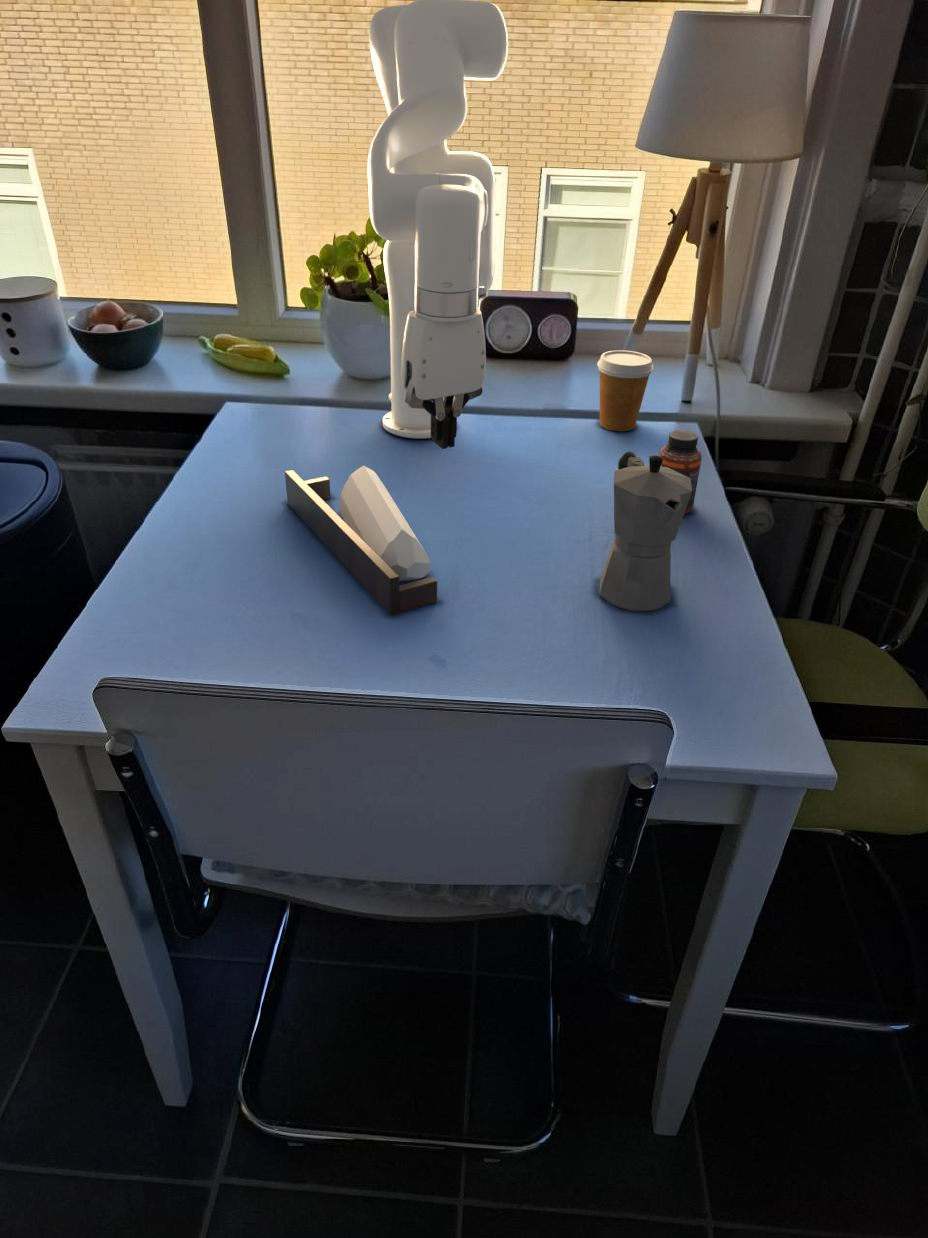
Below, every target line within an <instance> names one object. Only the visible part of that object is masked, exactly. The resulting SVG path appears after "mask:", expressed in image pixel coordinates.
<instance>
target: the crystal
mask: <svg viewBox="0 0 928 1238" xmlns="http://www.w3.org/2000/svg"><path fill="white" fill-rule="evenodd" d="M338 507H339V509H338V511H339V514H340V516H341V517H342V520H343V521H344V522H345V523H346V524H347V525H348V526H349V527H350V528H351V529H352V530H353V531H354V532H355V533H356V534H357V535H358V536H359V537H360V538H361V539H362V540H363V541H364V542H365V543H366V544H367V545H368V546H369V547H370V548H371V549H372V550H373V551H374V552H375V553H376V554H377V555H378V556H379V557H380V558H381V559H382V560H383V561H384V562H385V563H386V564H387V565H388V566H389V567H390V568H391V569H392V570H393V571H394V572H395V573H396V574H397V575H398V576H399V583H401V582H408V581H414V580H415V581H416V580H419V579H422V578H424V577H426V576H427V575H428V574H429V573H431V572H432V567H431V560H430V557H429V555H428V553H427V552H426V551H425V549H424V547H423V546H422V544H421V542H420V541H419V539H418V537H417V536H416V534H415V533H414V531H413V529H412V527H411V526H410V525H409V523H408V521H407V520H406V519H405V516H404V515H403V513H402V512H401V510H400V508H399V507H398V505H397V504H396V502H395V500H394V499H393V497H392V496H391V494H390V492H389V490H388V489H387V487H386V486H385V485H384V483H383V482H382V480H381V479H380V477H379V476H378V475H377V473H376V471H374V470H373V469H371V468H369V467H368V466H366V465H362V466H360V467H359V468H357V469H356V470H355V471H352V473H351V474H349V476H348V478H347V480H346V482H345V483H344V486H343V487H342V489H341V491H340V494H339V506H338Z"/></svg>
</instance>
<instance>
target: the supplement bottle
mask: <svg viewBox="0 0 928 1238" xmlns="http://www.w3.org/2000/svg"><path fill="white" fill-rule="evenodd" d="M698 441H699V435H698V434H697V433H696V432H693V431H691V430H686V429H677V430H676V429H674V430H672V431H670V432H669V434H668V440H667V444H665V445H663V446H662V447H661V448H660V451H659V454H658V456H660V457H663V462H662V464H661V467H668V468H670V469H672V470H674V471H676V472H678V473H681V474H683V475H685V476H687V477H689V478H690V479H691V487H692V493H691V496H690V499H689V502H688V504H687V507H686V510H685V513H684V515H686V514H688V513H690V512H691V511H692V510H693V508H694V503H695V498H696V493H697V487H698V483H699V482H698V481H699V476H700V470H701V464H702V459H703V457H702V456H703V455H702V452H701V450H700V449H699V448H698Z"/></svg>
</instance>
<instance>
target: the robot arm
mask: <svg viewBox="0 0 928 1238" xmlns="http://www.w3.org/2000/svg"><path fill="white" fill-rule="evenodd" d="M369 24H370V25H369V31H368V33H369V35H368V36H369V49H370V54H371V61H372V67H373V70H374V74H375V77H376V81H377V83H378V86H379V89H380V93H381V95H382V98H383V101H384V104H385V107H386V112H387V116H386V118H384V120H383V121H382V123H381V124H380V125H379V127H378V129H377V131H376V133H375V135H374V137H373V138H372V141H371V144H370V147H369V151H368V158H367V187H368V207H369V215H370V216H369V217H370V222H371V226H372V227H373V230H374V231H375V233H376V234H377V236H378V237H379V238H381V239H383V240H385V241H386V242H385V243H384V246H383V253H382V254H383V256H382V258H383V259H382V260H383V268H384V269H383V270H384V275H385V282H386V288H387V294H388V296H387V297H388V308H389V337H390V339H389V340H390V341H389V346H390V393H389V394H388V396H387V397H388V398H387V399H388V400H389V401H390V402H391V405H390V407H391V409H390V410H391V411H389V412H387V413H386V414H385V415H384V416H383V417H382V427H383V428H384V430H385V431H386V432H388V433H390V434H391V435H393V436H394V435H395V436H397V437H401V438H406V439H417V440H418V439H431V440H432V442H433V443H434V444H435V445H436V446H438V447H439V448H441V449H442V450H445V449H448V448H454V447H455V445H456V444H455V443H456V437H457V430H458V429H457V427H458V418H460V417H461V415H462V411H463V409H464V408H465V406H466V405H467V404H468V402H469V401H471V400H474V399H476V398H478V397H480V396H482V394H483V386H484V384H485V380H486V372H487V371H486V368H487V355H486V354H487V351H486V350H487V349H486V336H485V335H486V333H485V326H484V321H483V315H482V311H481V310H480V309H478V307H479V306H480V305H479V301H480V300H481V299H484V298H486V297H487V292H489V290H490V289H491V287H492V285H493V281H494V277H495V266H496V264H495V263H496V179H495V172H494V167H493V164H492V163H491V161H490V160H489V158H488V157H487V156H486V155H484V154H482V153H479V152H475V151H457V150H456V151H452V150H451V151H450V150H449V149H448V147H447V140H449V138H451V137H453V136H454V135H455V134H456V133H457V132H458V131H460V129H461V128H462V126H463V125H464V123H465V120H466V117H467V113H468V102H467V93H466V85H465V80H466V81H495V80H496V79H498V78H499V77H501V76H500V75H502V73H503V71H504V68H505V66H506V63H507V58H508V50H509V39H508V30H507V25H506V20H505V17H504V14H503V13H502V10H501V9H500V8H499V7H498V6H497V5H496V4H494V3H492V2H490V1H484V0H415V1H411V2H410V3H408V4H399V5H398V4H397V5H391V6H386V7H384V8H382V9H378V11H376V12H375V13H374V15H373V16H372V17H371V19H370V23H369Z"/></svg>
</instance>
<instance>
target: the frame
mask: <svg viewBox="0 0 928 1238" xmlns="http://www.w3.org/2000/svg"><path fill="white" fill-rule="evenodd" d="M284 478H285V489H286V490H285V491H286V500H287V501H286V502H287V504H288V506H289V507H290V508H291V509H292V510H293V512H295V513H296V514H297V515H298V516H299V518H301V520H302V521H303V522H304V523H305V524H306V525H307V526H308V528H310V529H311V530H312V532H313V533H314V534H315V535H316V536H317V537H318V538H319V539H320V540H321V542H322V543H324V544H325V546H326V547H327V548H328V549H329V550H330V551H331V552H332V553H333V554H334V556H335V557H337V559H338V560H339V561H340V562H341V563H342V564H343V565H344V566H345V567H346V569H347V570H348V571H349V572H350V573H351V574H352V575H353V576H354V577H355V578H356V579H357V581H358V582H359V583H360V584H361V585H362V586H363V587H364V588H365V589H366V590H367V591H368V592H369V594H370V595H371V596H372V597H373V598H374V599H375V601H376V602H377V603H379V605H380V606H381V607H382V608H384V610H385V611H386V612H387V613H388V614H389V615H390V616H394V615H397V614H401V613H404V612H407V611H412V610H414V609H418V608H421V607H425V606H428V605H431V604H432V605H433V604H436V603H438V580H437V579H436V578H435V577H434V576H429V577H427V578H423V579H422V578H421V579H420V580H419V579H418V580H415V581H411V582H408V583H405V584H400V582H399V576H398V575H397V574H396V573H395V572H394V571H393V570H392V569H391V568H390V567H389V566H388V565H387V564H386V563H385V562H384V561H383V560H382V559H381V558H380V557H379V556H378V555H377V554H376V553H375V552H374V551H373V550H372V549H371V548H370V547H369V546H368V545H367V544H366V543H365V542H364V541H363V540H362V539H361V538H360V537H359V536H358V535H357V534H356V533H355V532H354V531H353V530H352V529H351V528H350V527H349V526H348V525H347V524H346V523H345V521H344V519H343V518H341V516H339V514H337V512H335V510H333V508H331V506H330V505H328V503H326V501H325V500H328V499H331V483H330V481H331V479H330V478H329V477H328V476H322V477H316V478H311V479H307V480H304V479H302V477H300V475H298V474H297V472H295V470H293V469H291V470H286V471H284Z"/></svg>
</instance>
